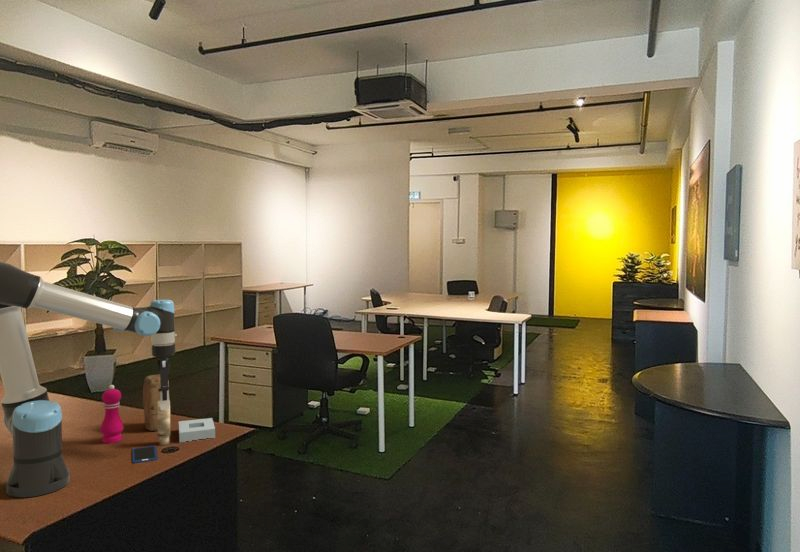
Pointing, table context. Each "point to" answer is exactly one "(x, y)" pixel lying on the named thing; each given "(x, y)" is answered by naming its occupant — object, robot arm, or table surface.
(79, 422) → the table surface
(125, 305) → the robot arm
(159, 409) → the peg
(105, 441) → the pepper mill
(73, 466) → the table surface
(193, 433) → the board
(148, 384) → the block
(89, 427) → the table surface
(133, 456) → the cell phone
